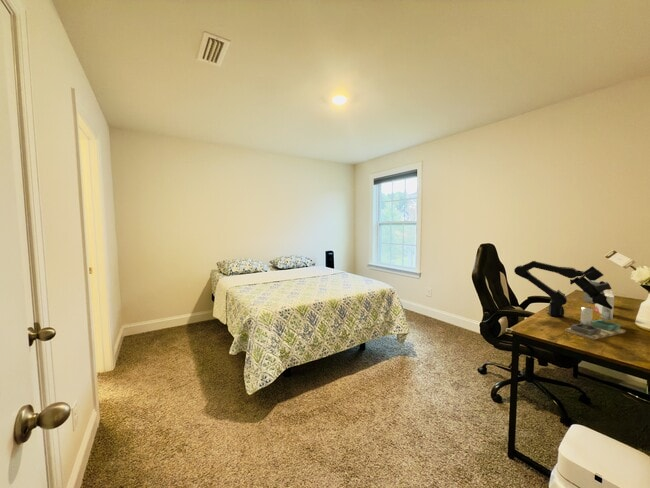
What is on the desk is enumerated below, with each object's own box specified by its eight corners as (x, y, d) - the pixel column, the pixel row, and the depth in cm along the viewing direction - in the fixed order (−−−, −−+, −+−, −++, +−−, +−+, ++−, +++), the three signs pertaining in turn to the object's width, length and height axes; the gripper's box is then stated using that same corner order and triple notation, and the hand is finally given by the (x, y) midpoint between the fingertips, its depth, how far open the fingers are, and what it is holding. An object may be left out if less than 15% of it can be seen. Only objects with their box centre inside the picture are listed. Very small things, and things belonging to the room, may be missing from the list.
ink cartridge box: (593, 311, 182) (595, 288, 181) (602, 311, 181) (604, 289, 180) (604, 315, 174) (605, 292, 172) (613, 315, 173) (615, 292, 171)
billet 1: (582, 332, 145) (583, 308, 144) (578, 329, 149) (579, 306, 148) (593, 333, 143) (594, 309, 142) (588, 330, 147) (589, 307, 146)
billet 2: (604, 319, 158) (605, 297, 157) (599, 317, 162) (601, 295, 161) (614, 320, 157) (616, 298, 155) (609, 317, 161) (611, 296, 160)
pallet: (592, 339, 139) (593, 332, 139) (565, 330, 150) (565, 324, 150) (625, 332, 147) (626, 325, 147) (597, 324, 159) (597, 318, 158)
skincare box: (582, 301, 203) (584, 279, 202) (589, 300, 205) (591, 279, 204) (597, 304, 195) (598, 282, 194) (604, 303, 197) (605, 281, 196)
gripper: (602, 280, 153) (630, 303, 147) (598, 274, 167) (623, 295, 161) (581, 292, 158) (607, 315, 152) (579, 285, 173) (603, 306, 167)
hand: (611, 307), depth 158 cm, fingers closed on billet 2, 4 cm apart
